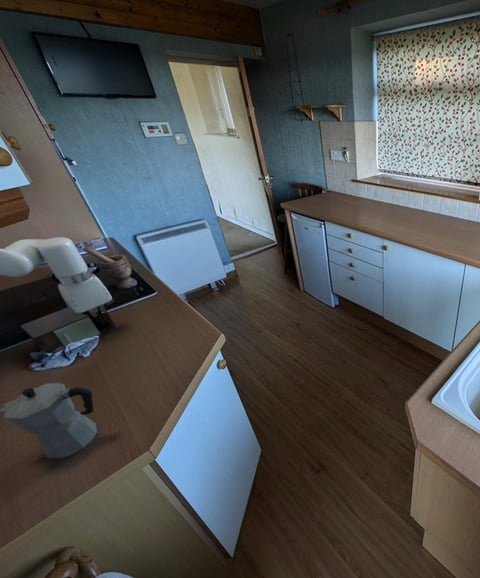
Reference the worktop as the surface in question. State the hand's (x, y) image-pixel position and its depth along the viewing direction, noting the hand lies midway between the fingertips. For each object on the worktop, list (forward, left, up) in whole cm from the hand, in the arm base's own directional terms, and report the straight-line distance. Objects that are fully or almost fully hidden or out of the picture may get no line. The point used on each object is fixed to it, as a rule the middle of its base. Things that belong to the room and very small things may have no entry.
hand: (104, 322), depth 101 cm
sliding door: (-7, 0, -3) cm, 8 cm away
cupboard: (-6, +7, -4) cm, 10 cm away
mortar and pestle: (+18, +32, -4) cm, 36 cm away
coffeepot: (-22, -40, -4) cm, 46 cm away
